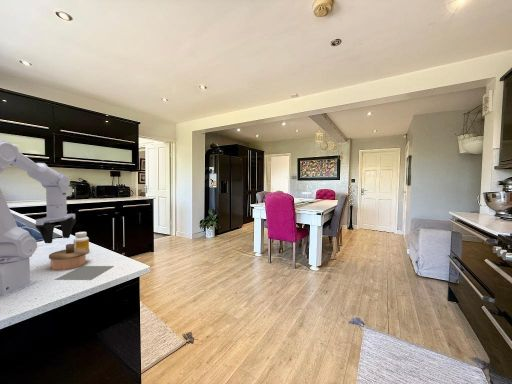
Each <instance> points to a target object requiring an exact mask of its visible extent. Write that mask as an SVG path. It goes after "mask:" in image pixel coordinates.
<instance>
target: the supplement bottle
mask: <svg viewBox="0 0 512 384" xmlns="http://www.w3.org/2000/svg"><path fill="white" fill-rule="evenodd" d="M87 235H88V234H87V231H79V232H75V237H74V238H73V244H74V248H88V249H89V250H90V238H89V237H88V236H87Z"/></svg>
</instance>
